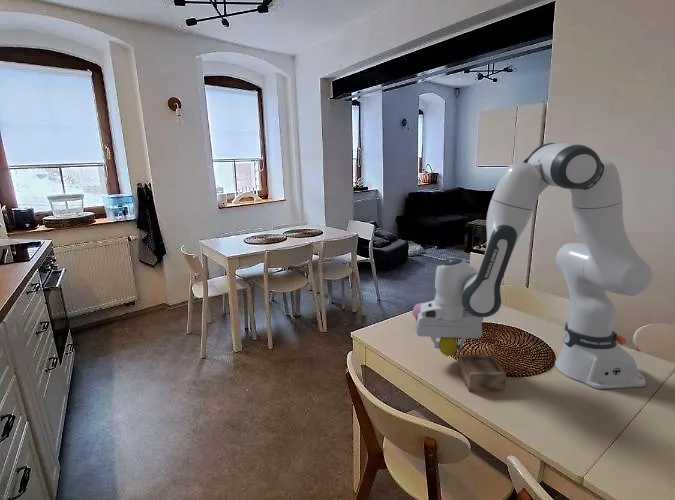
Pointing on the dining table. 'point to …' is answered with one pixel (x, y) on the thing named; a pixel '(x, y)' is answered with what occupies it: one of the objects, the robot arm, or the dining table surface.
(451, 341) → the lemon
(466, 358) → the walnut tray
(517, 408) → the dining table surface
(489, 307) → the robot arm
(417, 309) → the cupcake
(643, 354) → the dining table surface
